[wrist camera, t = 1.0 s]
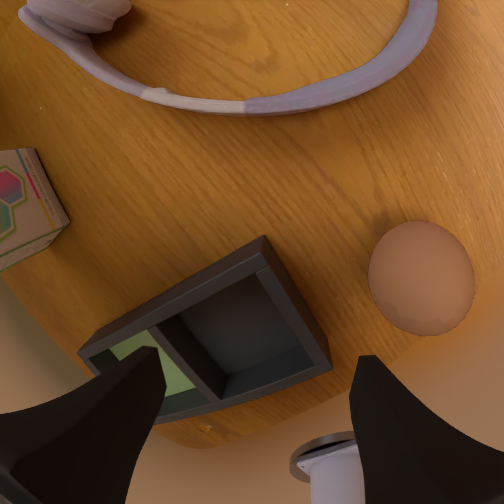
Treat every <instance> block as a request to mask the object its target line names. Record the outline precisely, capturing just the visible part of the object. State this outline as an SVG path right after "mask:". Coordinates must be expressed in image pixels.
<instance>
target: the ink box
mask: <svg viewBox="0 0 504 504" xmlns="http://www.w3.org/2000/svg"><path fill="white" fill-rule="evenodd" d="M69 223H70V221H69V219H68V217H67V215H66V214H65V212H64V210H63V208H62V206H61V204H60V202H59V200H58V199H57V197H56V195H55V193H54V191H53V189H52V187H51V185H50V183H49V181H48V178H47V176H46V174H45V172H44V170H43V168H42V166H41V164H40V161H39V159H38V157H37V154H36V152H35V150H34V148H22V149H13V150H5V151H0V273H1V272H3V271H4V270H6V269H8V268H10V267H11V266H13V265H15V264H17V263H19V262H21V261H23V260H25V259H27V258H29V257H31V256H33V255H35V254H37V253H39V252H41V251H43V250H45V249H46V248H47V247H48V246H49V245H50V243H51V242H52V241H53V240H54V239H55V238H56V237H57V236H58V234H59V233H60V232H61V231H62V230H63V229H64V228H65V227H66V226H67V225H68V224H69Z"/></svg>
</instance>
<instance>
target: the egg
mask: <svg viewBox="0 0 504 504" xmlns="http://www.w3.org/2000/svg"><path fill="white" fill-rule="evenodd" d="M368 282H369V287H370V292H371V294H372V297H373V299H374V302H375V304H376V306H377V307H378V308H379V310H380V311H381V312H382V314H383V315H384V317H385V318H386V319H387V320H388V321H390V322H391V323H392V324H393V325H394V326H396V327H397V328H399V329H401V330H403V331H406V332H409V333H412V334H415V335H419V336H436V335H441V334H444V333H446V332H448V331H450V330H452V329H453V328H455V327H456V326H457V325H458V324H459V323H460V322H461V321H462V320H463V319H464V318H465V317H466V315H467V313H468V312H469V310H470V308H471V305H472V302H473V299H474V295H475V278H474V271H473V267H472V263H471V260H470V258H469V256H468V254H467V252H466V250H465V248H464V246H463V245H462V244H461V243H460V241H459V240H458V239H457V238H456V237H455V236H454V235H453V234H451V233H450V232H449V231H447V230H446V229H445V228H443V227H441V226H438V225H436V224H434V223H430V222H426V221H410V222H405V223H402V224H400V225H398V226H396V227H394V228H392V229H391V230H390V231H388V232H387V233H385V235H384V236H383V237H382V238H381V239H380V240H379V242H378V243H377V245H376V247H375V249H374V251H373V253H372V256H371V259H370V263H369V269H368Z"/></svg>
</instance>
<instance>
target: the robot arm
mask: <svg viewBox="0 0 504 504" xmlns="http://www.w3.org/2000/svg"><path fill="white" fill-rule="evenodd" d="M166 389H167V384H166V380H165V376H164V372H163V368H162V364H161V360H160V356H159V352H158V348H157V347H151V346H144V345H143V346H141V347H140V348H138V349H136V350H135V351H133V352H132V353H131V354H129V355H128V356H126V357H125V358H123V359H122V360H121V361H119V362H118V363H116V364H115V365H113V366H112V367H110V368H109V369H107V370H106V371H105V372H103V373H102V374H100V375H98V376H97V377H95V378H93V379H92V380H90V381H89V382H87V383H85V384H84V385H82V386H80V387H79V388H77V389H75V390H73V391H71V392H69V393H67V394H65V395H62V396H61V397H58V398H56V399H54V400H51V401H48V402H45V403H43V404H40V405H37V406H35V407H31V408H27V409H24V410H20V411H15V412H11V413H5V414H0V504H125V500H126V496H127V492H128V488H129V485H130V481H131V477H132V474H133V471H134V467H135V465H136V461H137V459H138V456H139V454H140V451H141V449H142V447H143V445H144V443H145V441H146V438H147V436H148V435H149V432H150V430H151V428H152V426H153V424H154V422H155V420H156V418H157V415H158V413H159V411H160V409H161V406H162V403H163V400H164V396H165V393H166ZM349 401H350V411H351V420H352V424H353V429H354V433H355V438H356V442H357V443H356V444H354V445H351V446H348V447H345V448H342V449H339V450H336V451H333V452H330V453H327V454H324V455H321V456H317V457H314V458H310V459H307V460H303V461H299V462H297V466H298V467H299V468H300V469H301V470H303V471H304V472H305V473H306V474H307V475H309V476H310V493H311V494H310V497H311V499H310V500H311V504H504V452H502V451H499V450H496V449H494V448H492V447H489V446H487V445H485V444H482V443H480V442H478V441H476V440H474V439H472V438H471V437H469V436H467V435H465V434H464V433H462V432H460V431H459V430H457V429H455V428H454V427H452V426H451V425H449V424H448V423H447V422H445V421H444V420H443V419H441V418H440V417H439V416H437V415H436V414H435V413H433V412H432V411H431V410H430V409H429V408H428V407H426V406H425V405H424V404H423V403H422V402H421V401H420V400H419V399H417V398H416V397H415V396H414V395H413V394H412V393H411V392H410V391H409V390H408V389H407V388H406V387H405V386H404V385H403V384H402V383H401V382H400V381H399V380H398V379H397V378H396V377H395V375H394V374H392V372H391V371H390V370H389V369H388V368H387V367H386V366H385V365H384V364H383V363H382V361H381V360H380V359H379V358H378V357H377V356H376V355H367V356H359V359H358V363H357V367H356V371H355V375H354V379H353V383H352V386H351V390H350V394H349Z"/></svg>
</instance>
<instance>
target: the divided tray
mask: <svg viewBox="0 0 504 504" xmlns="http://www.w3.org/2000/svg"><path fill="white" fill-rule="evenodd" d="M143 345H144V346H151V347H157V348H158V352H159V356H160V360H161V364H162V368H163V372H164V376H165V380H166V384H167V389H166V393H165V396H164V400H163V403H162V406H161V409H160V411H159V413H158V415H157V418H156V420H155V422H154V424H153V425H157V424H162V423H167V422H172V421H177V420H181V419H185V418H190V417H194V416H198V415H202V414H206V413H210V412H213V411H217V410H221V409H224V408H228V407H231V406H234V405H238V404H241V403H244V402H247V401H250V400H253V399H257V398H260V397H263V396H265V395H268V394H271V393H274V392H277V391H280V390H282V389H285V388H288V387H290V386H293V385H296V384H298V383H301V382H303V381H306V380H308V379H311V378H313V377H316V376H318V375H320V374H323V373H325V372H327V371H330V370H332V369H333V364H332V359H331V354H330V349H329V345H328V339H327V337H326V336H325V334H324V332H323V330H322V329H321V327H320V325H319V324H318V322H317V320H316V319H315V317H314V315H313V314H312V312H311V310H310V309H309V307H308V305H307V303H306V302H305V300H304V298H303V297H302V295H301V293H300V292H299V290H298V288H297V287H296V285H295V283H294V282H293V280H292V279H291V277H290V275H289V274H288V272H287V270H286V269H285V267H284V265H283V264H282V262H281V260H280V259H279V257H278V255H277V254H276V252H275V251H274V249H273V247H272V246H271V244H270V242H269V241H268V239H267V238H266V236H265V235H262V236H260V237H259V238H257V239H255V240H253V241H252V242H250V243H248V244H246V245H245V246H243V247H241V248H239V249H238V250H236V251H234V252H232V253H231V254H229V255H227V256H225V257H224V258H222V259H220V260H218V261H217V262H215V263H213V264H211V265H210V266H208V267H206V268H204V269H203V270H201V271H199V272H197V273H196V274H194V275H192V276H190V277H189V278H187V279H185V280H184V281H182V282H180V283H178V284H177V285H175V286H173V287H171V288H170V289H168V290H166V291H165V292H163V293H161V294H159V295H158V296H156V297H154V298H153V299H151V300H149V301H147V302H146V303H144V304H142V305H140V306H139V307H137V308H135V309H134V310H132V311H130V312H129V313H127V314H125V315H123V316H122V317H120V318H118V319H117V320H115V321H113V322H111V323H110V324H108V325H106V326H105V327H103V328H101V329H100V330H98V331H96V332H95V333H94V334H93V335H92V337H91V338H90V339H89V340H88V341H87V342H86V343H85V344H84V345H83V346H82V347H81V348H80V349H79V351H78V352H77V354H78V355H79V357H80V358H81V359H82V360H83V361H84V363H85V364H86V365H87V366H88V367H89V369H90V370H91V371H92V372H93V373H94V374H95V375H96V377H97V376H98V375H100V374H102V373H103V372H105V371H106V370H107V369H109V368H110V367H112V366H113V365H115V364H116V363H118V362H119V361H121V360H122V359H123V358H125V357H126V356H128V355H129V354H131V353H132V352H133V351H135V350H136V349H138V348H140V347H141V346H143Z"/></svg>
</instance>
